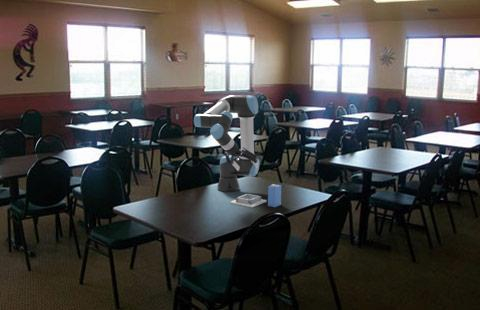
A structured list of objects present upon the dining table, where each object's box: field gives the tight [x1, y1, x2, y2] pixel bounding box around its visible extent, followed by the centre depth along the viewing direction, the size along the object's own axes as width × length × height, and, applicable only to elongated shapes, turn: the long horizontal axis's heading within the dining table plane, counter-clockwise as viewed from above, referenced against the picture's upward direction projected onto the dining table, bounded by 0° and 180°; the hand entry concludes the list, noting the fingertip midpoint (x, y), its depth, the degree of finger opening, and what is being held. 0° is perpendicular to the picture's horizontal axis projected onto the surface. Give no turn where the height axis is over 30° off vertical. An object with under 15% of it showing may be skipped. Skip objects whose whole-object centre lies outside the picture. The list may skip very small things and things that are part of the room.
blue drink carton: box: [267, 183, 282, 208], centre depth 297 cm, size 7×5×13 cm
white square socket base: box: [230, 193, 268, 208], centre depth 304 cm, size 16×16×4 cm
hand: (248, 167), depth 296 cm, fingers open, 13 cm apart
